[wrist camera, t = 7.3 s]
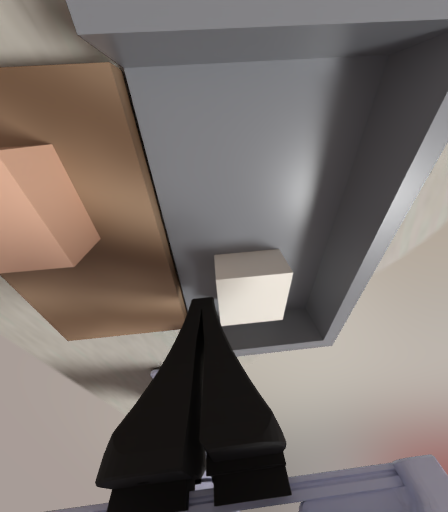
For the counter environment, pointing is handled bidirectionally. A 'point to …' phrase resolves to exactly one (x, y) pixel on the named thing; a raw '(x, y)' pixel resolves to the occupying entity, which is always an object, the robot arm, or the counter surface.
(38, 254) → the terracotta tile
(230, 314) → the cream tile
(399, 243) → the counter surface
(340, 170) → the tray
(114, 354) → the counter surface
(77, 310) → the walnut plate
